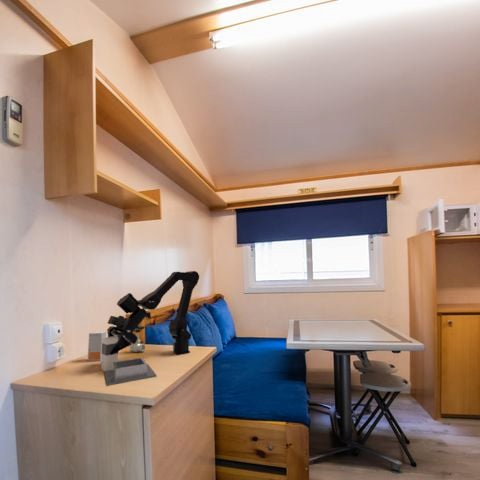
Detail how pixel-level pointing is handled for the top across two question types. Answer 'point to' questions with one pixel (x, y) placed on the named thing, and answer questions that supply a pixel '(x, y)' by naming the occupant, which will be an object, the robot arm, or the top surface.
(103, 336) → the skincare box
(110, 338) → the plug
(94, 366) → the top surface
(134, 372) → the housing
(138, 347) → the valve
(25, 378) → the top surface
